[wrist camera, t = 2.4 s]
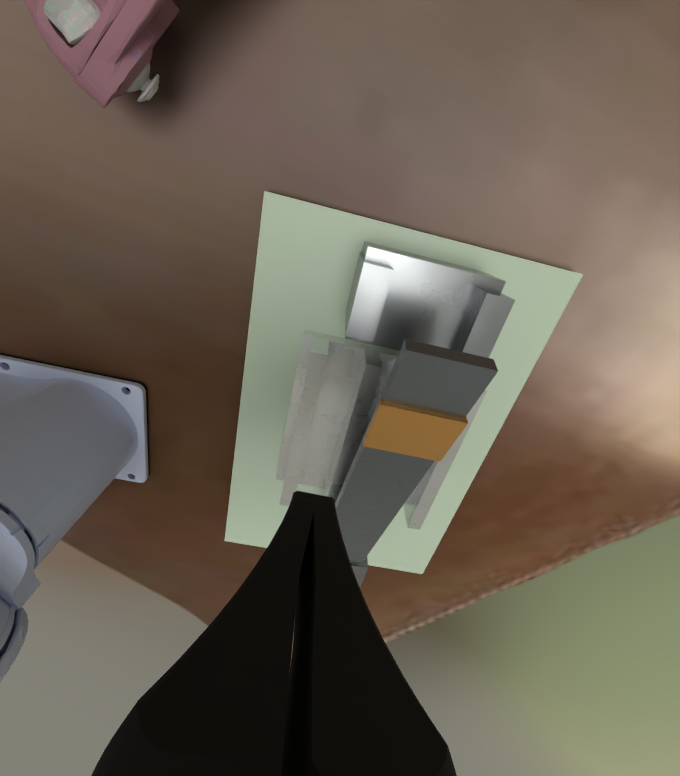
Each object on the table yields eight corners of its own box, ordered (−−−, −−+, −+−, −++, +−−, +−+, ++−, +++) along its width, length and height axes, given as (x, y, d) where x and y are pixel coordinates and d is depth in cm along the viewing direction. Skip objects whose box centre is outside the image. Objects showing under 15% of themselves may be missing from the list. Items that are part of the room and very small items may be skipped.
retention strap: (315, 545, 22) (314, 557, 21) (402, 338, 11) (403, 353, 10) (363, 553, 22) (363, 566, 22) (496, 359, 11) (502, 375, 10)
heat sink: (278, 469, 23) (269, 502, 20) (305, 329, 19) (298, 348, 16) (419, 496, 24) (429, 531, 21) (477, 368, 19) (498, 393, 17)
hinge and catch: (292, 529, 26) (283, 583, 22) (362, 240, 16) (367, 248, 13) (372, 543, 26) (376, 598, 22) (482, 271, 17) (521, 287, 13)
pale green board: (228, 530, 27) (224, 540, 26) (268, 192, 16) (264, 191, 16) (420, 563, 29) (422, 574, 28) (571, 271, 18) (583, 274, 17)
